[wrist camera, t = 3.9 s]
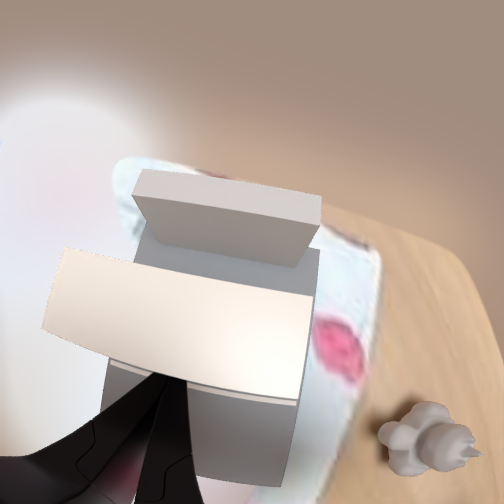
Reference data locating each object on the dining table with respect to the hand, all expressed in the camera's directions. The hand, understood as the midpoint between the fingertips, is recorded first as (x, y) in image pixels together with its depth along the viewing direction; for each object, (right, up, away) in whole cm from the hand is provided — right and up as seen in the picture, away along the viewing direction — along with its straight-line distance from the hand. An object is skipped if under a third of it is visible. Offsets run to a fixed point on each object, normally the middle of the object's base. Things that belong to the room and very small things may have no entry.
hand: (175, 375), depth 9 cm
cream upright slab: (-1, 0, +7) cm, 7 cm away
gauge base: (0, -2, +8) cm, 8 cm away
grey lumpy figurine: (+13, -9, +6) cm, 17 cm away
